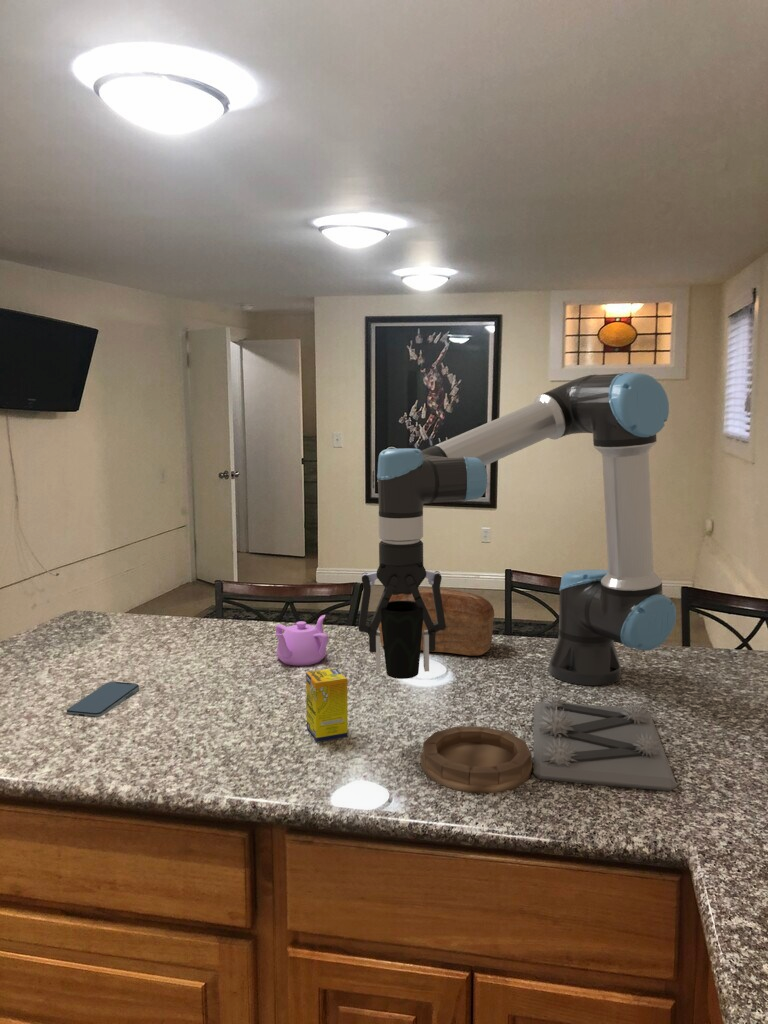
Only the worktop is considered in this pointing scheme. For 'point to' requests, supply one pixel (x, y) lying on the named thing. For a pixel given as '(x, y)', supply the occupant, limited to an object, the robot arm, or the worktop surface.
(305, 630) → the teapot
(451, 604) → the bread
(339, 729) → the supplement box
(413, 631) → the cup
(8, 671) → the worktop surface
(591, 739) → the grey board with spikes
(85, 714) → the smartphone
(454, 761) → the round tray
